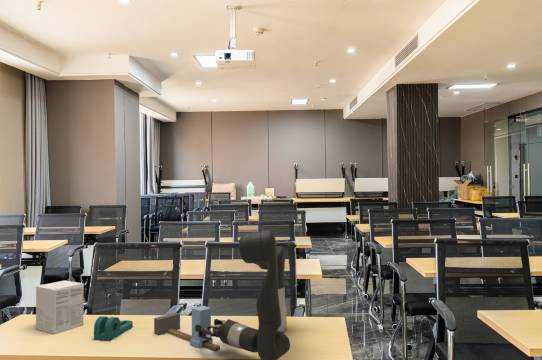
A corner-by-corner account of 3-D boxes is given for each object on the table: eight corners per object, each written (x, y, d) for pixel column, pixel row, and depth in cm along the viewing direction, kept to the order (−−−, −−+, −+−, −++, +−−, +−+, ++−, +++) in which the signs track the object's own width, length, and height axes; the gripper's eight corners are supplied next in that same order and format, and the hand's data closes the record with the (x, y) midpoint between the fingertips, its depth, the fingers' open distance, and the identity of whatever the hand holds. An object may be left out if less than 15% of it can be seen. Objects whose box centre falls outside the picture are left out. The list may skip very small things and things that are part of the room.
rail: (172, 331, 164) (172, 328, 164) (220, 349, 144) (220, 346, 144) (166, 332, 162) (166, 329, 162) (215, 351, 143) (215, 348, 143)
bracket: (109, 341, 154) (110, 320, 154) (93, 340, 155) (94, 319, 155) (135, 326, 171) (135, 307, 172) (121, 325, 173) (121, 306, 173)
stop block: (175, 327, 169) (175, 312, 169) (180, 328, 167) (180, 313, 167) (154, 333, 161) (154, 318, 161) (158, 335, 159) (158, 319, 159)
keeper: (203, 340, 154) (203, 305, 154) (212, 343, 150) (212, 307, 151) (190, 344, 149) (190, 308, 149) (198, 348, 146) (198, 311, 146)
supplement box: (84, 325, 173) (84, 283, 173) (54, 334, 161) (54, 289, 162) (65, 320, 180) (65, 279, 180) (34, 329, 168) (35, 285, 169)
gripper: (251, 318, 143) (220, 309, 154) (220, 328, 132) (189, 318, 143) (251, 340, 143) (220, 330, 153) (220, 352, 132) (189, 340, 143)
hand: (205, 324), depth 148 cm, fingers open, 8 cm apart
